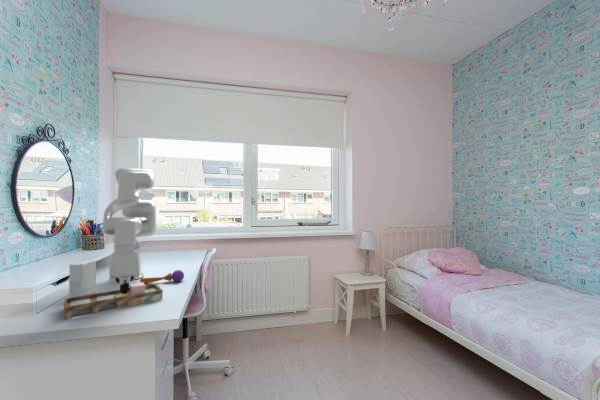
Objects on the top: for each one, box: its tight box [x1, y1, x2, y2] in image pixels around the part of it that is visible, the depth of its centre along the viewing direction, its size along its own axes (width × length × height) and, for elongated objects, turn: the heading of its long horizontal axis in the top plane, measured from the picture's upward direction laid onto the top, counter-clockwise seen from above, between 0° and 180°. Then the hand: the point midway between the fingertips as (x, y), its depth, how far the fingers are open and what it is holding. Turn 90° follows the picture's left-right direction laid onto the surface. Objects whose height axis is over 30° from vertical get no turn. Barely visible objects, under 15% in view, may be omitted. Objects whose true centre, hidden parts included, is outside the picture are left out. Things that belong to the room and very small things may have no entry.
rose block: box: [129, 282, 146, 295], centre depth 116 cm, size 5×5×4 cm
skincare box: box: [68, 259, 97, 298], centre depth 121 cm, size 8×6×15 cm
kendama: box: [139, 269, 185, 285], centre depth 142 cm, size 6×6×20 cm
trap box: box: [63, 282, 163, 320], centre depth 112 cm, size 32×12×4 cm, turn 130°
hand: (124, 293), depth 113 cm, fingers closed
